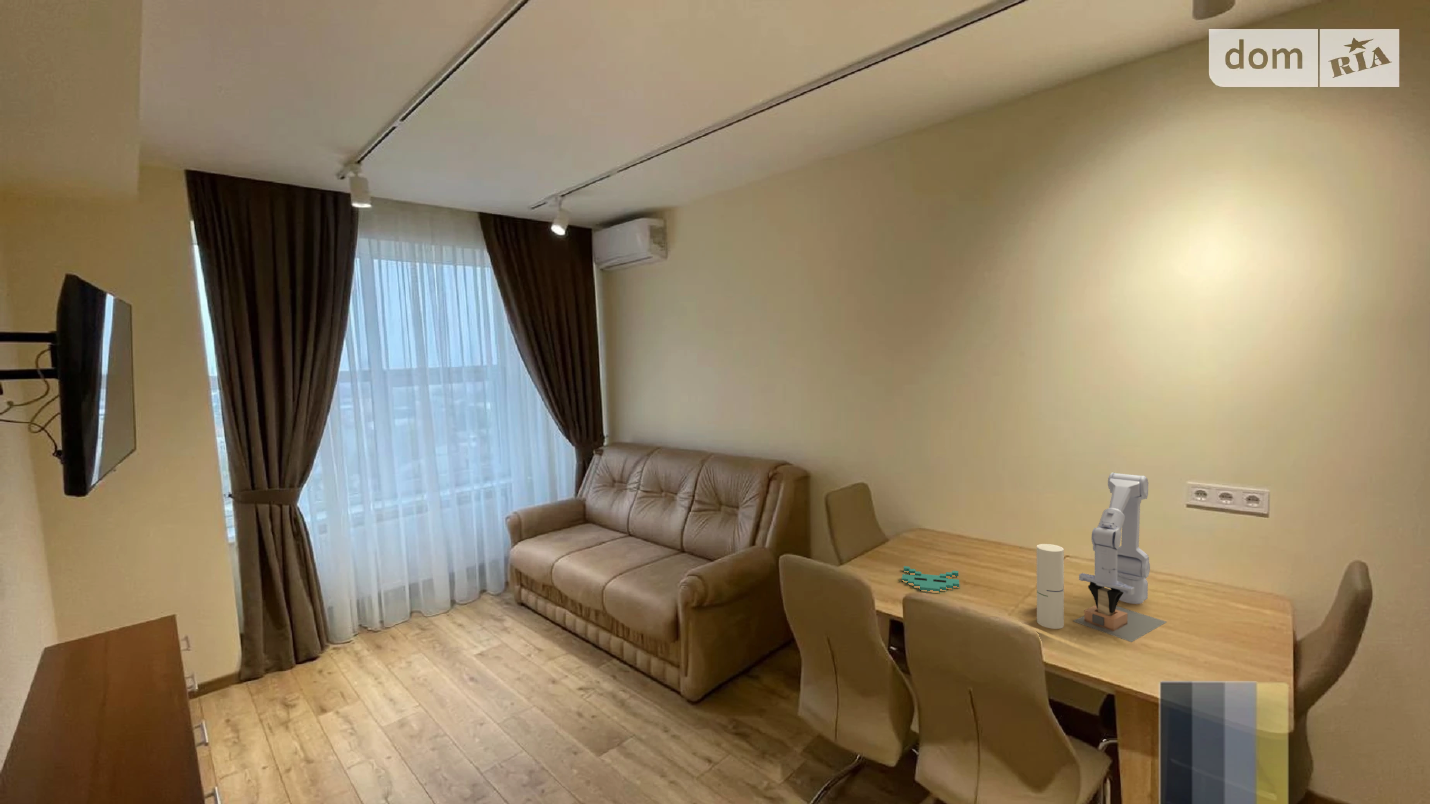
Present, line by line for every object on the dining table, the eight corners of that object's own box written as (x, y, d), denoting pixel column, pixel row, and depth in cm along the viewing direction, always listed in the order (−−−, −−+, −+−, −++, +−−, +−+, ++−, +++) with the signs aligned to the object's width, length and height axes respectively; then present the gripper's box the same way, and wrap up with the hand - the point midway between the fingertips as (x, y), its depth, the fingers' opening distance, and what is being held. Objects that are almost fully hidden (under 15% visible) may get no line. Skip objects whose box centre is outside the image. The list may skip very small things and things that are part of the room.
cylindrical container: (1063, 633, 168) (1063, 552, 167) (1036, 628, 172) (1036, 549, 170) (1063, 624, 174) (1063, 545, 173) (1037, 619, 178) (1037, 542, 176)
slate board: (1109, 606, 185) (1109, 603, 185) (1167, 625, 171) (1167, 621, 171) (1072, 624, 174) (1072, 621, 174) (1131, 645, 160) (1131, 642, 160)
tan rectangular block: (1103, 615, 174) (1103, 587, 173) (1113, 618, 171) (1113, 590, 171) (1097, 617, 173) (1097, 589, 172) (1108, 621, 170) (1108, 592, 169)
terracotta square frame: (1099, 613, 178) (1099, 603, 178) (1128, 623, 171) (1128, 612, 171) (1083, 621, 173) (1083, 610, 173) (1112, 631, 166) (1112, 620, 166)
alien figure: (904, 571, 224) (900, 590, 205) (903, 566, 224) (900, 585, 205) (958, 576, 216) (959, 597, 198) (958, 571, 216) (959, 591, 198)
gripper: (1073, 562, 175) (1073, 604, 176) (1126, 576, 163) (1125, 622, 164) (1085, 558, 179) (1085, 599, 180) (1138, 571, 166) (1137, 615, 167)
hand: (1105, 609), depth 172 cm, fingers closed on tan rectangular block, 3 cm apart
